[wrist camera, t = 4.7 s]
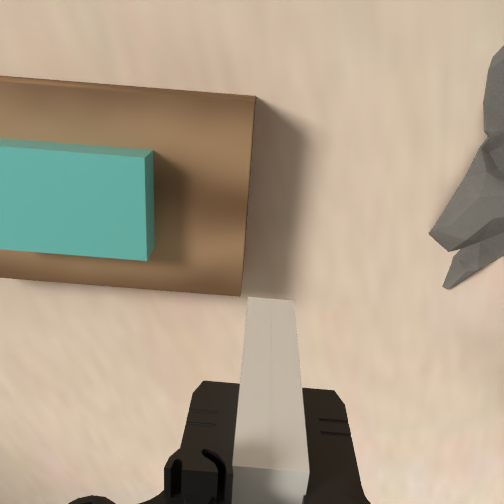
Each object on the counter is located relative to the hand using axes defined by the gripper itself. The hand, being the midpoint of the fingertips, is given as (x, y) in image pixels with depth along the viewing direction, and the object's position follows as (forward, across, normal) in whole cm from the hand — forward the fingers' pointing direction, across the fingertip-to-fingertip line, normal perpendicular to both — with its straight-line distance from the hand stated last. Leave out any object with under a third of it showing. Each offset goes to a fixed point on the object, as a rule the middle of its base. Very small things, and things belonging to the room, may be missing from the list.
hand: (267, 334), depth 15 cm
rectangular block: (+13, +11, 0) cm, 17 cm away
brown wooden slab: (+16, +11, 0) cm, 20 cm away
